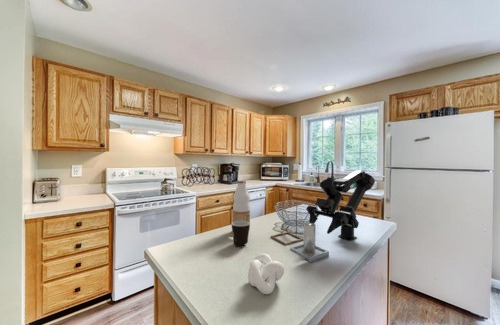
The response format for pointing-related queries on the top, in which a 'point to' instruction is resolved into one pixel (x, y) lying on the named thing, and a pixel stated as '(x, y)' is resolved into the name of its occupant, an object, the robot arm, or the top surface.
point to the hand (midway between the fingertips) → (318, 230)
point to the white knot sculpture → (264, 273)
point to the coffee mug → (240, 233)
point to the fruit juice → (241, 203)
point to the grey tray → (312, 258)
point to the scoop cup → (309, 238)
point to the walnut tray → (286, 238)
